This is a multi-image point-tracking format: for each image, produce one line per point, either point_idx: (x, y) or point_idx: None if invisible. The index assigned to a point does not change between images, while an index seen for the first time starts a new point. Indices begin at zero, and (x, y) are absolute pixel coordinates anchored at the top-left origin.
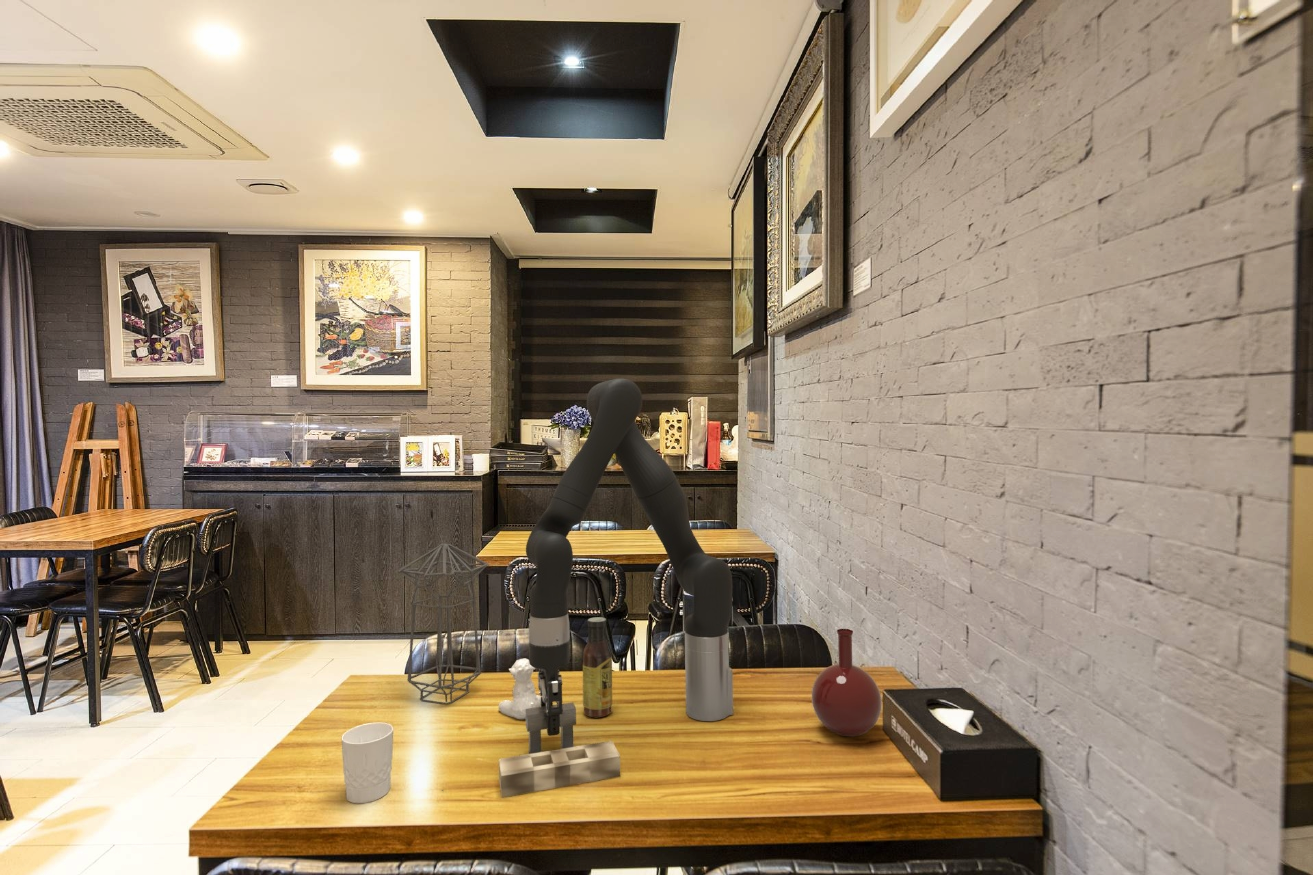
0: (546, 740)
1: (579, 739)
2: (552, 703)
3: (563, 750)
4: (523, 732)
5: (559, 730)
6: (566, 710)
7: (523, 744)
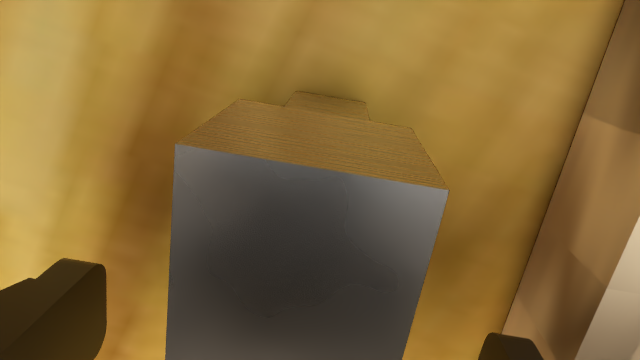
0: (159, 203)
1: (230, 7)
2: (22, 333)
3: (633, 302)
4: (14, 280)
5: (539, 355)
6: (407, 316)
7: (160, 318)
